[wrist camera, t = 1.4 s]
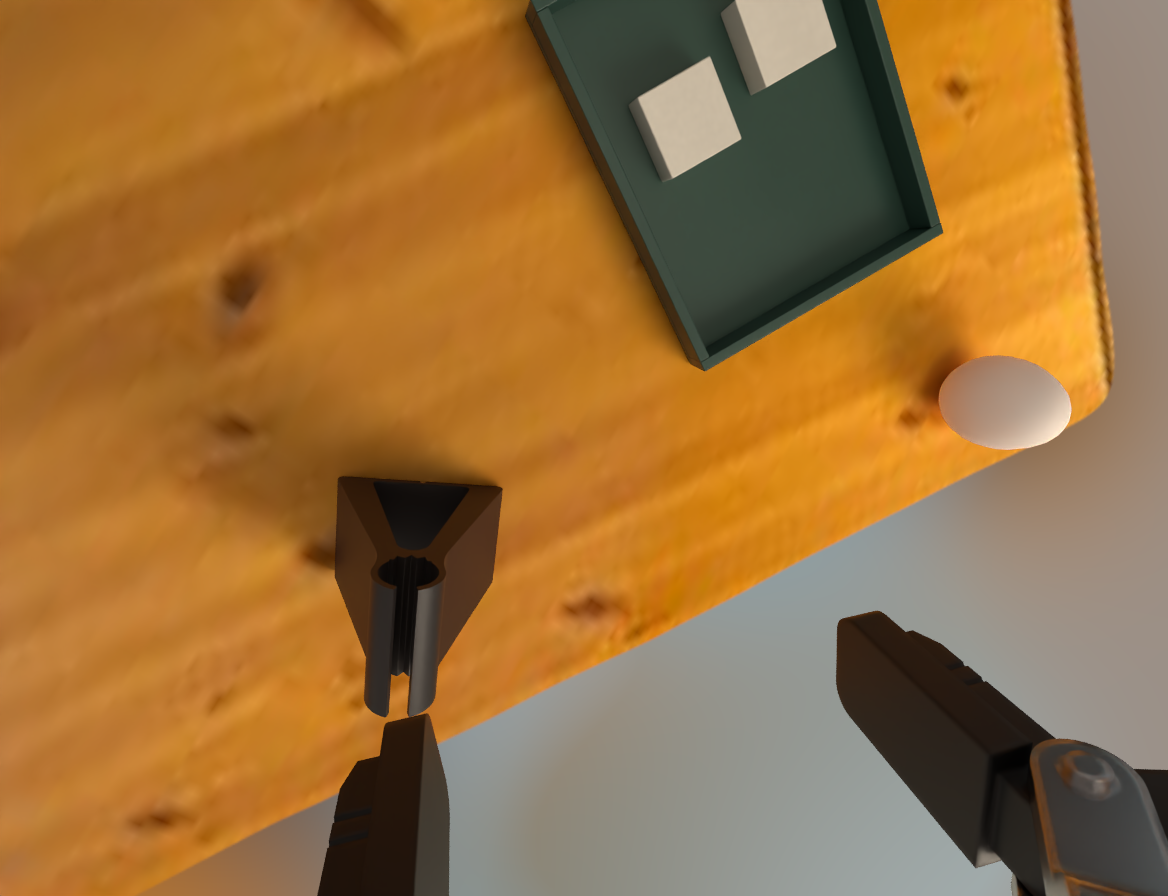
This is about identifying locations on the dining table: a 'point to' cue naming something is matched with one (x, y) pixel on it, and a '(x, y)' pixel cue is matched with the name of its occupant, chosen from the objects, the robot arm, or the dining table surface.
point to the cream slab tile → (776, 37)
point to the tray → (746, 163)
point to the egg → (1004, 403)
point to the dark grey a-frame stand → (412, 574)
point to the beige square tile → (685, 120)
